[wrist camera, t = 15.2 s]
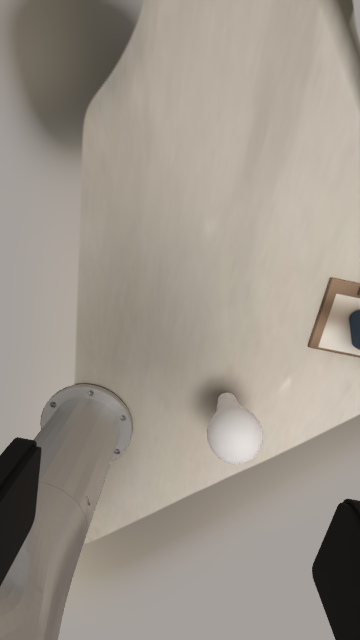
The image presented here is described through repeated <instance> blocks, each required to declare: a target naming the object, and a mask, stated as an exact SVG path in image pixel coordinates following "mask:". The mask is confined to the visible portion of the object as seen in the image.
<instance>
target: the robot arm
mask: <svg viewBox="0 0 360 640" xmlns="http://www.w3.org/2000/svg"><path fill="white" fill-rule="evenodd" d="M92 391H93V392H92ZM131 435H132V419H131V415H130V413H129V411H128V409H127V407H126V406H125V404H124V403H123V402H122V400H120V399H119V398H118V397H117V396H116V395H115V394H113V393H112V392H110V391H109V390H107V389H104V388H102V387H99V386H95V385H90V384H78V385H73V386H69V387H66V388H64V389H62V390H60V391H59V392H57V393H56V394H55V395H54V396H52V398H51V399H50V400H49V401H48V402H47V404H46V406H45V407H44V409H43V412H42V415H41V431H40V432H39V434H38V435H37V436H36V438H35V439H34V440H28V439H23V438H18V437H17V438H15V439H14V440H13V441H12V442H11V443H10V445H9V446H8V447H7V448H6V449H5V451H4V452H3V453H2V454H1V455H0V640H58V636H59V631H60V626H61V620H62V616H63V612H64V607H65V603H66V599H67V595H68V592H69V588H70V585H71V581H72V577H73V574H74V571H75V568H76V565H77V561H78V558H79V555H80V552H81V549H82V546H83V543H84V541H85V538H86V534H87V531H88V528H89V525H90V523H91V520H92V517H93V514H94V511H95V508H96V505H97V502H98V499H99V496H100V493H101V490H102V487H103V484H104V481H105V478H106V475H107V472H108V469H109V466H110V463H111V462H112V461H114V460H115V459H117V458H118V457H119V456H120V455H121V454H122V453H123V452H124V451H125V450H126V448H127V446H128V444H129V442H130V439H131ZM312 572H313V573H312V574H313V579H314V582H315V585H316V587H317V590H318V593H319V595H320V598H321V601H322V604H323V607H324V609H325V612H326V615H327V617H328V620H329V623H330V626H331V628H332V631H333V634H334V637H335V639H336V640H360V501H357V500H352V499H346V500H344V502H343V503H340V504H339V505H338V507H337V509H336V512H335V514H334V516H333V519H332V521H331V523H330V526H329V528H328V530H327V533H326V535H325V537H324V540H323V542H322V545H321V547H320V549H319V552H318V554H317V556H316V559H315V561H314V563H313V567H312Z"/></svg>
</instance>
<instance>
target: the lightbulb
mask: <svg viewBox="0 0 360 640" xmlns="http://www.w3.org/2000/svg"><path fill="white" fill-rule="evenodd" d="M217 404H218V405H217V412H216V413H215V414H214V415H213V416H212V418H211V419H210V422H209V424H208V429H207V439H208V443H209V445H210V447H211V449H212V451H213V452H214V453H215V455H216V456H217V457H219V458H220V459H221V460H223V461H225V462H228V463H231V464H242V463H245V462H248V461H250V460H251V459H253V458H254V457H255V456H256V455H257V453H258V452H259V450H260V448H261V445H262V441H263V432H262V427H261V425H260V423H259V421H258V419H257V418H256V417H255V415H254V414H253V413H251V412H250V411H249V410H247V409H245V408H243V407H241V406H240V404H239V403H238V402H237V400H236V398H235V396H234V395H233V394H231V393H223V394H221V395H220V396H219V397H218V400H217Z"/></svg>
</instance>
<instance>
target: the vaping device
mask: <svg viewBox="0 0 360 640" xmlns="http://www.w3.org/2000/svg"><path fill="white" fill-rule="evenodd" d="M349 322H350V331H351V340H352V345H353V346H354V347H356V348H357V349H359V350H360V310H359V311H356V312H354V313H353V314H352V315H351V316H350V319H349Z"/></svg>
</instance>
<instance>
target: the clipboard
mask: <svg viewBox="0 0 360 640" xmlns="http://www.w3.org/2000/svg"><path fill="white" fill-rule="evenodd" d="M359 310H360V284H359V283H355V282H350V281H345V280H340V279H335V278H330V280H329V283H328V286H327V289H326V292H325V295H324V298H323V301H322V304H321V307H320V310H319V313H318V316H317V319H316V322H315V325H314V329H313V332H312V335H311V338H310V341H309V344H308V347H310V348H315V349H320V350H325V351H330V352H335V353H340V354H345V355H349V356H354V357H359V358H360V350H359V349H357V348H356V347H354V346H353V345H352V340H351V331H350V322H349V319H350V316H351V315H352V314H353V313H354V312H356V311H359Z"/></svg>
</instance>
